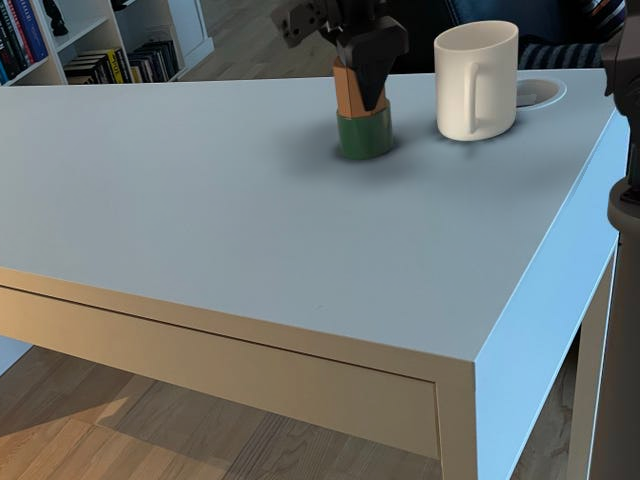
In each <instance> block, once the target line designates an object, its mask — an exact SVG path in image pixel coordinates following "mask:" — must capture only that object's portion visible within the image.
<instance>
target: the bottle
mask: <svg viewBox="0 0 640 480" xmlns="http://www.w3.org/2000/svg"><path fill="white" fill-rule="evenodd" d="M335 115H336V122H337V132H338V139H339V147H340V154H341V155H342V156H343V157H345V158H347V159H351V160H369V159H372V158H376V157H380V156H382V155H384V154H386V153H387V152H390V150H391V149H392V148H393V146H394V134H393V133H394V132H393V118H392V106H391V101H390V99H389V98H387V97H386V107H385V108H384V109H382V110H380V111H379V112H377V113H375V114H373V115H370V116H364V117H358V118H349V117H345V116H341V115H339V113H338V108H337V109H336V112H335Z"/></svg>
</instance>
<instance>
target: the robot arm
mask: <svg viewBox="0 0 640 480" xmlns="http://www.w3.org/2000/svg"><path fill="white" fill-rule="evenodd" d="M624 9H625V14H624V15H625V16H624V17H625V18H624V22H623V26H622V29H621V30H620V31H619V32H617V33H616V34H615V35H614V36H613V37H612V38H610V39H609V40H608V41H607V42H606V43H605V44H603V45H602V46H601V47H600V60H601V63H602V66H603V69H604V72H605V76H606V87H605V90H604V94H603V95H604V97H606V98H607V97H610V96H611V95H612V99H613V103H614V106H615V108H616V110H617V112H618V113H619V115H620V116H622V117H626V120H627V123H628V127H629V130H630V134H631V137H632V141H633V143H632V144H631V150H630V159H629V166H628V174H627V175H628V181H627V182H628V185H630V186H631V187H630V188H628V189H627V190H625V191H624V192H623V193H621V194H620V201H623V202H627V203H630V204H634V205H637V206H640V0H624ZM387 12H388V5H387V1H386V0H286V1H285V2H283V3H282V4H280V5H278V6H277V7H275V9H273V10H272V11H271V12H270V14H269V18H270V19H271V21H272V23H273V25H274V26H275V28H276V30H277V32H278V33H279V35H280V37H281V39H282V40H283V41H282V42H284V44H285V46H286V47H287V49H289V50H290V49H294V48H297V47H298V46H299V45H301V44H302V42H303V40H305V39H306V38H308V37H309V36H311V35H312V34H313V33H315V32H318V34H319V35H320V36H321V38H323V39H324V40H326V41H327V42H328V43H330V44H332V45H333V46H334V49H335V52H336V54H337V56H336V58H338V60H339V61H340V62H341V64H342V65H343V66H344V67H346V68H349V69H351V70H352V71H353V73H354V76H355V80H356V83H357V87H358V90H359V94H360V97H361V101H362V104H363V107H364V110H365V111H366V112H369V111H372V110H375V108H376V106H377V103H378V100H379V98H380V95H381V92H382V90H383V87H384V85H385V86H386V81H387V80H388V76H389V75H390V72H391V70H392V68H393V66H394V63H395V61H396V59H397V57H398V56H401V55H405V54H407V53H409V51H410V47H409V44H410V43H409V31H408V30H407V29H406V28H405V27H404V26H403V25H401V24H400V23H399V22H398V21H397V20H396V19H394V18H392V17H391V16H390V15H385V16H381V17H378V18H376V17H375V16H377V15H380V14H384V13H387Z"/></svg>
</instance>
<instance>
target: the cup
mask: <svg viewBox="0 0 640 480" xmlns="http://www.w3.org/2000/svg"><path fill="white" fill-rule="evenodd" d="M433 49H434V50H433V51H434V53H433V54H434V79H435V80H434V81H435V105H436V123H437V129H438V131H439V132H440V134H441V135H442V136H444V137H446V138H448V139H450V140H454V141H460V142H461V141H462V142H473V141H480V140H486V139H490V138H493V137H496V136H499V135H501V134H503V133H505V132H507V131H508V130H509V129H510V128H511V127H512V125H513V124H514V123H515V120H516V116H517V94H518V93H517V90H518V62H519V61H518V60H519V59H518V58H519V57H518V56H519V28H518V26H517V25H516V24H515V23H512V22H510V21H505V20H482V21H475V22H470V23H465V24H460V25H458V26H455V27H452V28H449V29H447V30H445V31H443V32H442V33H440V34H439V35H438V36H437V37H436V38H435V39H434V42H433Z"/></svg>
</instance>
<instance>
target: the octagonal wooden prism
mask: <svg viewBox="0 0 640 480" xmlns="http://www.w3.org/2000/svg"><path fill="white" fill-rule="evenodd" d="M332 71H333V79H334V80H333V81H334V87H335V95H336V104H337V109H338V113H339V115H341V116H345V117H349V118H358V117H364V116H370V115H373V114H375V113H377V112H379V111H380V110H382V109H384V108H385V107H386V98H387V93H386V84H385V85H384V87H383V90H382V92H381V95H380V98H379V100H378V103H377V106H376V108H375V110H372V111H369V112H366V111H365V110H364V107H363V104H362V101H361V97H360V94H359V90H358V87H357V83H356V80H355V76H354V73H353V71H352V70H351V69H349V68H346V67H344V66H343V65H342V64H341V62H340V61H339V60H338V58H337V57H335V58H334V59H333V62H332Z"/></svg>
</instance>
